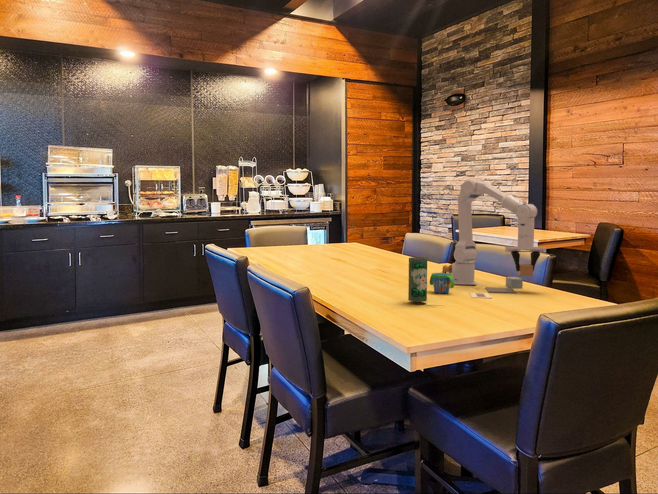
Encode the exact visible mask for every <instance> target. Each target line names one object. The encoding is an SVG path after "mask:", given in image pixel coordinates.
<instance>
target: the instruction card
mask: <svg viewBox="0 0 658 494" xmlns="http://www.w3.org/2000/svg"><path fill="white" fill-rule="evenodd" d="M469 295H470V296H471V298H473V299H493V297H492V296H491V294H489V292H469Z"/></svg>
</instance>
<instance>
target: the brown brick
mask: <svg viewBox="0 0 658 494" xmlns="http://www.w3.org/2000/svg"><path fill="white" fill-rule="evenodd" d="M516 274H517V275H518V276H520V277H534V271H533V265H531V263H519V271H517V272H516Z"/></svg>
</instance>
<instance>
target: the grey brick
mask: <svg viewBox="0 0 658 494" xmlns="http://www.w3.org/2000/svg"><path fill="white" fill-rule="evenodd" d="M523 285H524V284H523V278H521V277H518V276H506V277H505V287H506V288H512V289H513V290H517V289H522V290H523Z"/></svg>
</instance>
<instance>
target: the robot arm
mask: <svg viewBox="0 0 658 494" xmlns="http://www.w3.org/2000/svg"><path fill="white" fill-rule="evenodd" d="M485 194H486V195H487V196H490V198H493V199H495V200H496V201H498V202H500V203H501V206H502V207H503V208H504V209H505V210H508V211H510V212H511V213H513V214H514V215H515V216H516V218H517V223H518V225H517V246H505V247H504V248H505V249H504V252H505V253H510V254H511V256H512V258H513V262H514V265H515V270H516V271H519V264H520V259H521V258H520V257H521V254H520V253H530V264H531V265H533V272H534V270H535V266H536V264H537V261H538V260H539V258H540V256H541V253H547V247H545V246H542V247H541V246H535V244H534V241H535V218H536V217H537V216H538V208H537V207H536V206H535V205H534V204H533V203H527V200H522V199H520V198H519V197H517V194H515V193H510V194H509V193H508V194H506V193H504V192H503V191H502V190H500V189H498V188H497V187H495V186H494V185H493V184H491V183H490V182H488V181H487V182H486V181H485V180H484V179H472V178H471V179H470V178H469V179H466V180H464V181H463V182H462V183H461V184H460V191H459V193H458V196H457V214H458V215H457V217H458V220H457V221H458V241H457V242H456V244H455V245H454V247H455V249H454V252H453V258H454V260H455V261H456V262H451V263H452V273H451V274H452V278H453V281H454V285H468V286H469V285H471V286H473V285H474V286H476V285H477V283H476V281H475V272H476V271H475V267H476V266H475V265H476V260H477V259H478V258H479V250H478V248H477V244H476V243H475V241H474V239H473V218H472V217H473V216H472V214H473V213H472V203H473V202H474V201H476V199H477V198H479V197H481V196H483V195H485Z"/></svg>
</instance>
